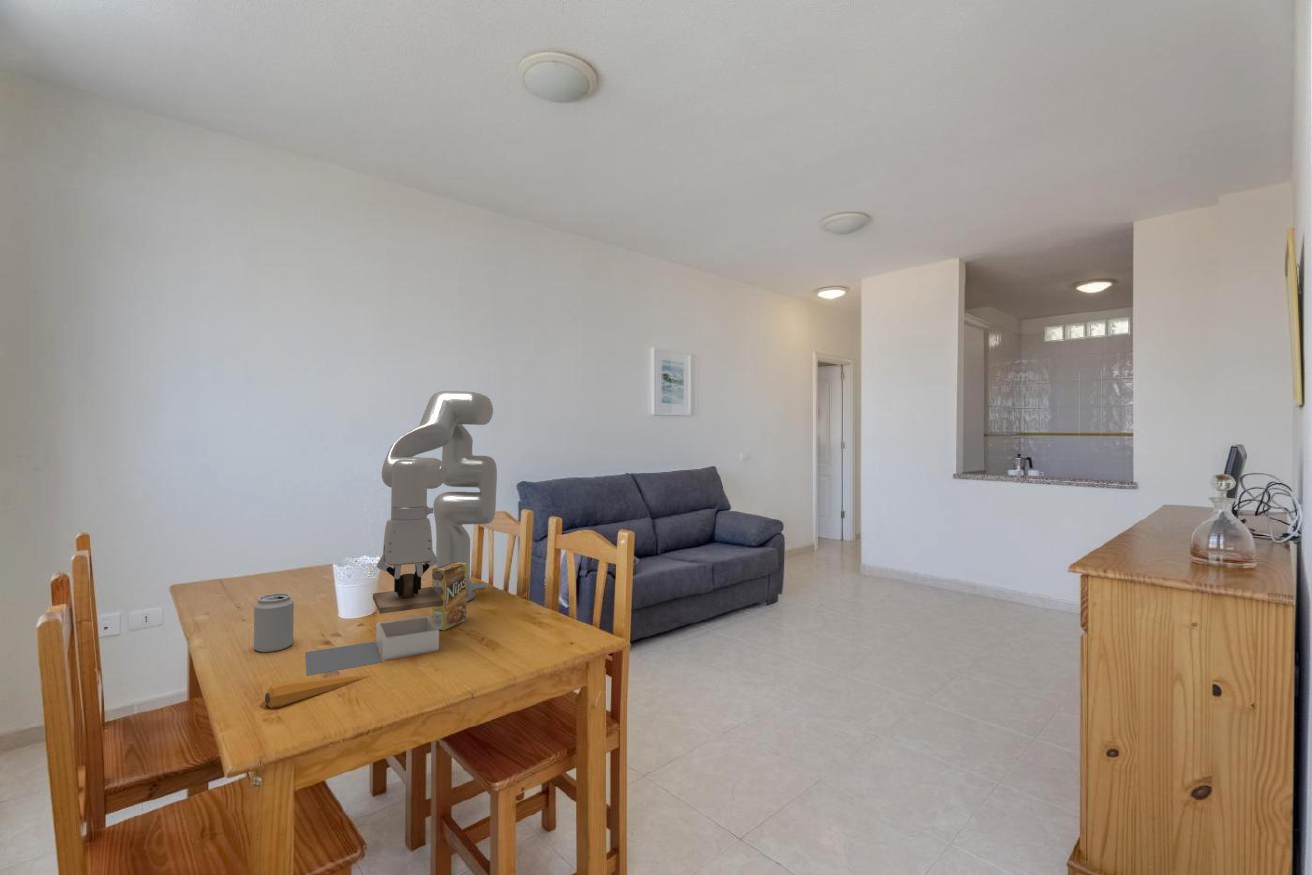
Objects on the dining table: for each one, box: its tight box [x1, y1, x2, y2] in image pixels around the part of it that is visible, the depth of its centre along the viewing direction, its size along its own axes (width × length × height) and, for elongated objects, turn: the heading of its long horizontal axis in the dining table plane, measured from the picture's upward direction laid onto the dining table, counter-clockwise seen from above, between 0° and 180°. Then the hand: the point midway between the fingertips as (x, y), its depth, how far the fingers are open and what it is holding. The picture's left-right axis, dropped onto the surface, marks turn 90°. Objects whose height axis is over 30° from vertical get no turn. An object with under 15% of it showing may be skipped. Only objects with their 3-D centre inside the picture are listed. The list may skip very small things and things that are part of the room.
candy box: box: [431, 562, 468, 632], centre depth 152 cm, size 9×4×15 cm, turn 160°
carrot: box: [264, 674, 372, 709], centre depth 113 cm, size 20×4×4 cm, turn 141°
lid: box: [372, 573, 443, 615], centre depth 135 cm, size 13×13×6 cm
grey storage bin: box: [375, 615, 440, 661], centre depth 135 cm, size 12×12×5 cm
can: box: [253, 592, 295, 653], centre depth 134 cm, size 8×8×12 cm
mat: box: [304, 640, 383, 677], centre depth 129 cm, size 14×14×1 cm
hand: (407, 593), depth 135 cm, fingers closed on lid, 2 cm apart
